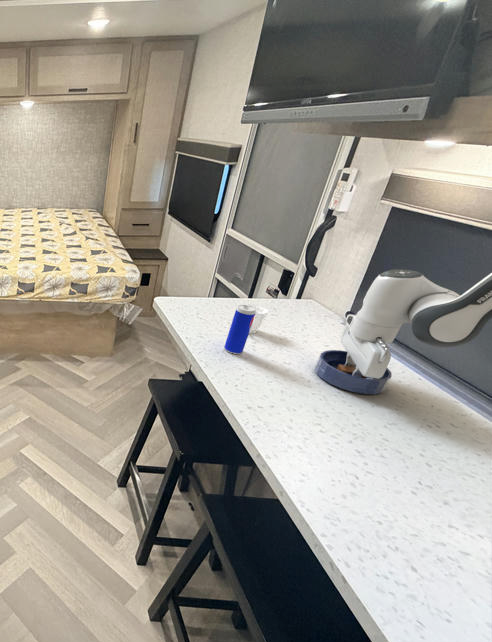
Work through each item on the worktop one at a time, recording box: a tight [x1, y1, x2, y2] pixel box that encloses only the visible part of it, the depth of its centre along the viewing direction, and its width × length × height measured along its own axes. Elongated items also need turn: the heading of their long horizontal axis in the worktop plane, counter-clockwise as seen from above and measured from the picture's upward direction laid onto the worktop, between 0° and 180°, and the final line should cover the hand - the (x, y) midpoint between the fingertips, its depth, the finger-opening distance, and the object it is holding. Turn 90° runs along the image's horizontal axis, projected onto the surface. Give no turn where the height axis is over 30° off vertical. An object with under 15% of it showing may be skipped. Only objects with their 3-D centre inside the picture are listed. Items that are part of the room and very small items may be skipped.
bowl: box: [314, 349, 393, 395], centre depth 110 cm, size 15×15×5 cm
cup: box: [248, 304, 269, 334], centre depth 134 cm, size 7×10×8 cm
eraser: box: [337, 364, 366, 378], centre depth 110 cm, size 6×4×3 cm, turn 66°
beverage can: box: [224, 304, 256, 355], centre depth 122 cm, size 5×5×15 cm
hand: (351, 373), depth 110 cm, fingers closed on eraser, 3 cm apart
